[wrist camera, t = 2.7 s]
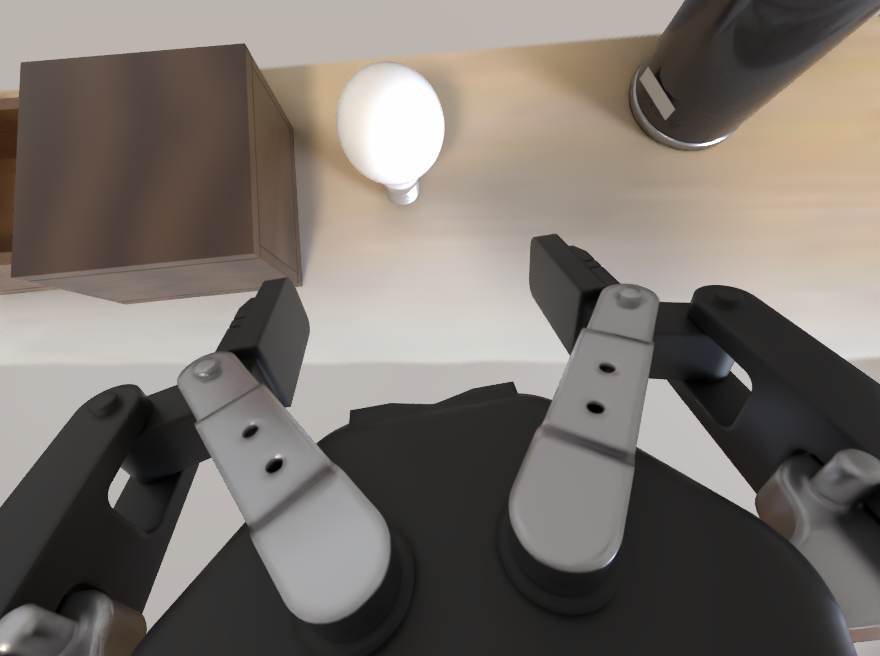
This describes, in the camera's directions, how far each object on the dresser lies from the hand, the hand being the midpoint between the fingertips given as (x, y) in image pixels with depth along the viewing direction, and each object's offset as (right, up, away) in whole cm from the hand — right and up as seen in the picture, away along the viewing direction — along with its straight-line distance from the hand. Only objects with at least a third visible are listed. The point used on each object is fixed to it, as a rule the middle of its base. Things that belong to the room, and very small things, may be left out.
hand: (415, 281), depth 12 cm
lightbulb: (-2, +9, +17) cm, 20 cm away
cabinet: (-17, +8, +17) cm, 25 cm away
